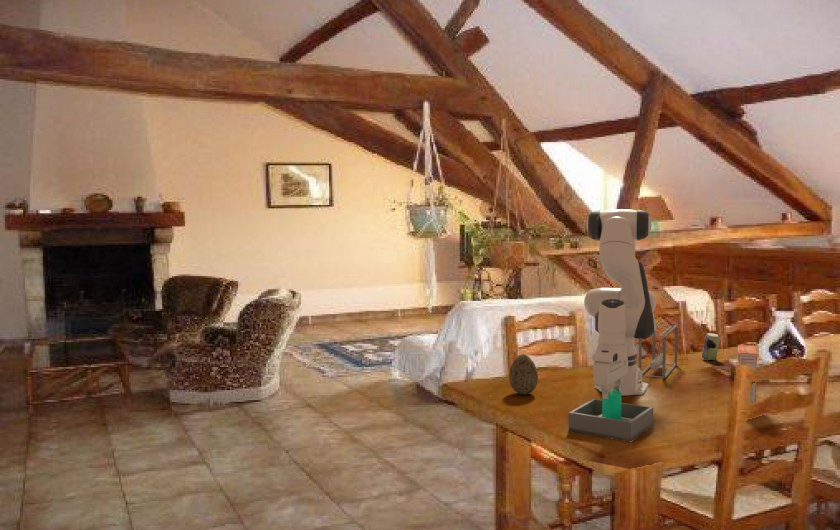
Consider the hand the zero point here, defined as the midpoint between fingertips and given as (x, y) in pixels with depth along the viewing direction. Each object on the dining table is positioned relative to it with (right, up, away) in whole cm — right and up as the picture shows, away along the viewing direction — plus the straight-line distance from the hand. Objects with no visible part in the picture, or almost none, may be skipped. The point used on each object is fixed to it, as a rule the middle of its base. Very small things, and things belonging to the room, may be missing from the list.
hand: (611, 395), depth 243 cm
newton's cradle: (+39, -4, +80) cm, 89 cm away
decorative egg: (-22, -7, +44) cm, 50 cm away
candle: (0, -10, +1) cm, 10 cm away
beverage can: (+68, -2, +99) cm, 120 cm away
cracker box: (+51, -9, +21) cm, 56 cm away
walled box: (0, -11, +1) cm, 11 cm away
